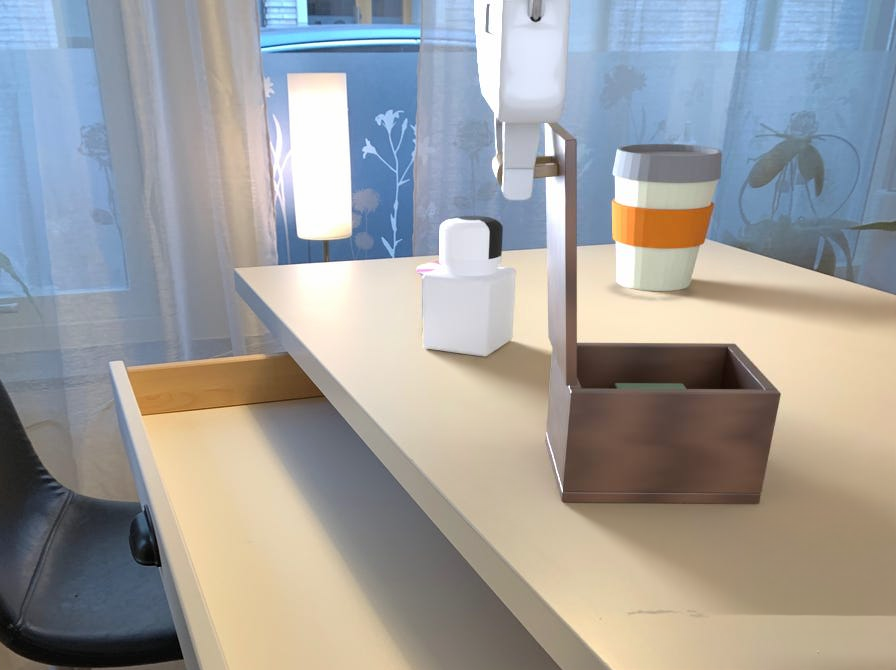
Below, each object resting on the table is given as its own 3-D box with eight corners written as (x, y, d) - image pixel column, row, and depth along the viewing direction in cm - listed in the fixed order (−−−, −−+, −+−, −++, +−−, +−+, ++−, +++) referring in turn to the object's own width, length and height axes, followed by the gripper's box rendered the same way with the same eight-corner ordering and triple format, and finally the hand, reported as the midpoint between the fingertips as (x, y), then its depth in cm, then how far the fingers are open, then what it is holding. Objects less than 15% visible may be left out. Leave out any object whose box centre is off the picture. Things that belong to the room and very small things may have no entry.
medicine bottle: (450, 331, 107) (452, 209, 101) (513, 340, 104) (520, 215, 98) (420, 348, 102) (421, 220, 95) (486, 358, 99) (491, 227, 93)
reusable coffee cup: (684, 299, 119) (704, 159, 111) (585, 286, 125) (598, 151, 117) (718, 279, 128) (738, 148, 120) (624, 267, 134) (638, 141, 126)
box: (718, 443, 80) (735, 343, 76) (759, 504, 70) (781, 393, 66) (545, 441, 80) (552, 342, 76) (561, 502, 70) (571, 391, 66)
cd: (472, 257, 138) (472, 257, 138) (519, 273, 130) (519, 272, 130) (400, 266, 134) (400, 265, 133) (444, 283, 125) (444, 282, 125)
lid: (555, 120, 68) (488, 126, 68) (576, 139, 58) (498, 146, 58) (557, 336, 76) (497, 341, 76) (577, 385, 66) (507, 390, 66)
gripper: (608, -88, 49) (583, 219, 56) (561, -63, 66) (546, 169, 73) (477, -89, 49) (468, 219, 56) (464, -63, 66) (459, 169, 74)
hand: (512, 190), depth 65 cm, fingers closed on lid, 5 cm apart
